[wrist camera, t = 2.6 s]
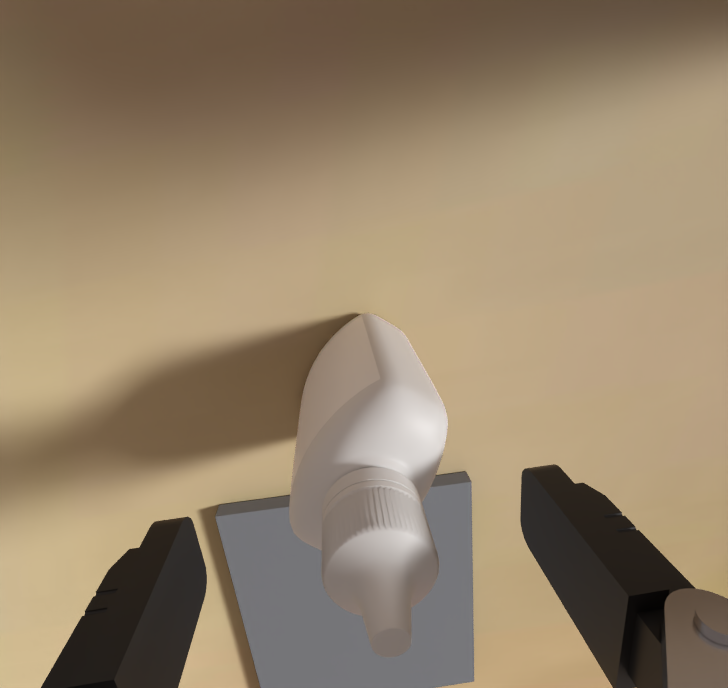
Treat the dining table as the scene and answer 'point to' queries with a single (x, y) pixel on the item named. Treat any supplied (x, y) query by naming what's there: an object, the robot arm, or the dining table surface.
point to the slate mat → (336, 625)
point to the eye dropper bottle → (369, 476)
